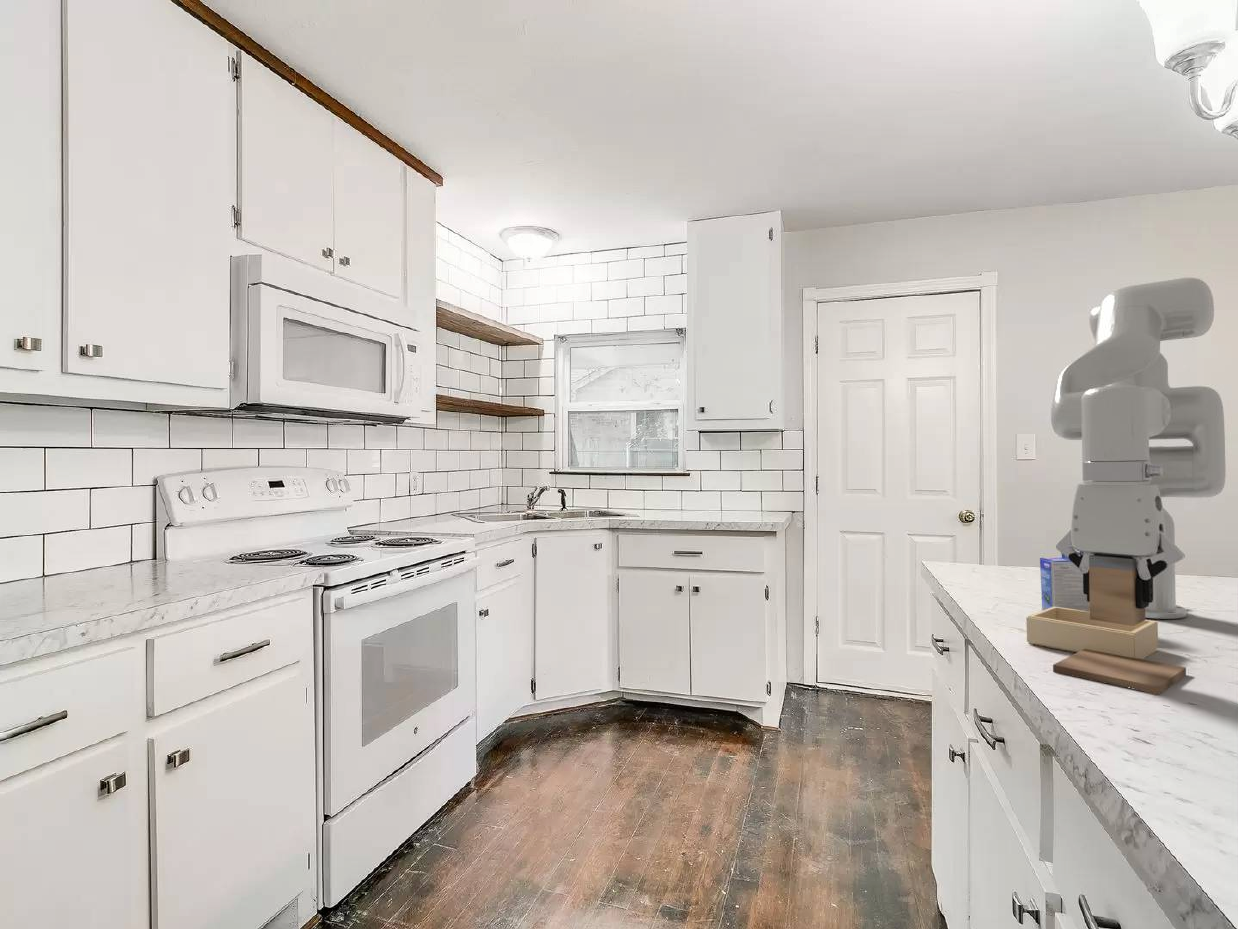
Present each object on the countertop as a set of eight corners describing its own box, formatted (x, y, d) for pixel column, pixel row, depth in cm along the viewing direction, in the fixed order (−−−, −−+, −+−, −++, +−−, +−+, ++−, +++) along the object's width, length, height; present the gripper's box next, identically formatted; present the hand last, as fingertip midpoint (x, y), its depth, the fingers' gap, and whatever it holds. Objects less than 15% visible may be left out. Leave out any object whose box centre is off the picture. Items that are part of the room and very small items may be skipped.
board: (1085, 655, 101) (1085, 648, 101) (1185, 674, 91) (1185, 667, 91) (1053, 671, 94) (1053, 664, 94) (1158, 694, 84) (1158, 687, 84)
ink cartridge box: (1100, 624, 119) (1098, 543, 119) (1116, 632, 113) (1115, 548, 113) (1039, 622, 121) (1038, 543, 121) (1052, 630, 115) (1051, 547, 115)
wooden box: (1055, 631, 114) (1054, 606, 114) (1158, 649, 103) (1157, 621, 103) (1026, 644, 107) (1026, 616, 107) (1133, 664, 96) (1132, 634, 96)
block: (1102, 614, 96) (1101, 552, 96) (1145, 620, 92) (1144, 555, 92) (1089, 619, 93) (1088, 555, 93) (1133, 626, 89) (1132, 559, 89)
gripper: (1201, 473, 88) (1204, 610, 88) (1057, 473, 101) (1059, 591, 101) (1185, 475, 83) (1187, 619, 83) (1036, 474, 97) (1038, 598, 97)
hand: (1117, 602), depth 92 cm, fingers closed on block, 5 cm apart
